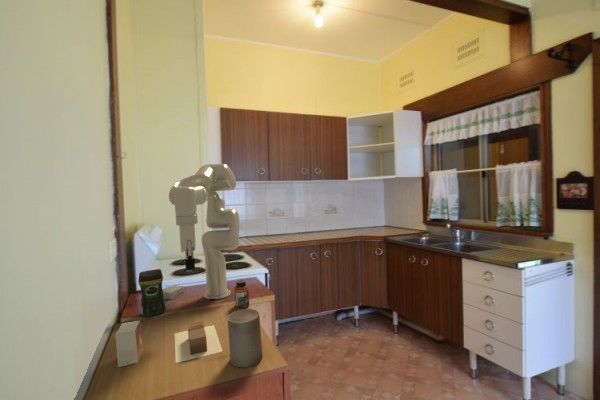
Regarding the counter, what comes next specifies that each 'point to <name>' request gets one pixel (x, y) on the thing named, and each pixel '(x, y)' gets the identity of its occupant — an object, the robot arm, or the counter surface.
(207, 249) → the robot arm
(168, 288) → the stone block
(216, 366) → the counter surface
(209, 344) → the cream mat
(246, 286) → the supplement bottle
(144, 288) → the coffee jar
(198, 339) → the walnut block
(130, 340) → the small box
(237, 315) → the pillar candle
